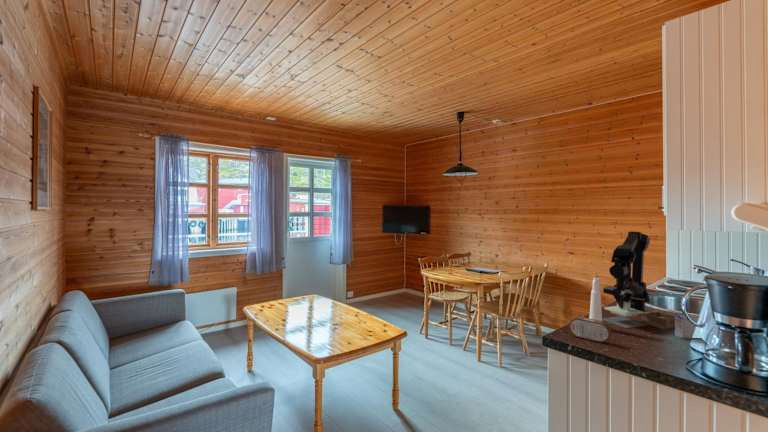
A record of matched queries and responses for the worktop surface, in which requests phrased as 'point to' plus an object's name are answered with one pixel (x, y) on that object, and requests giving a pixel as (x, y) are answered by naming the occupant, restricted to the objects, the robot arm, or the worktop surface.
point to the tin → (590, 329)
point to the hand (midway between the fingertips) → (623, 308)
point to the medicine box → (684, 326)
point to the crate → (659, 319)
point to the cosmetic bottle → (595, 301)
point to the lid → (623, 310)
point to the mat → (623, 322)
